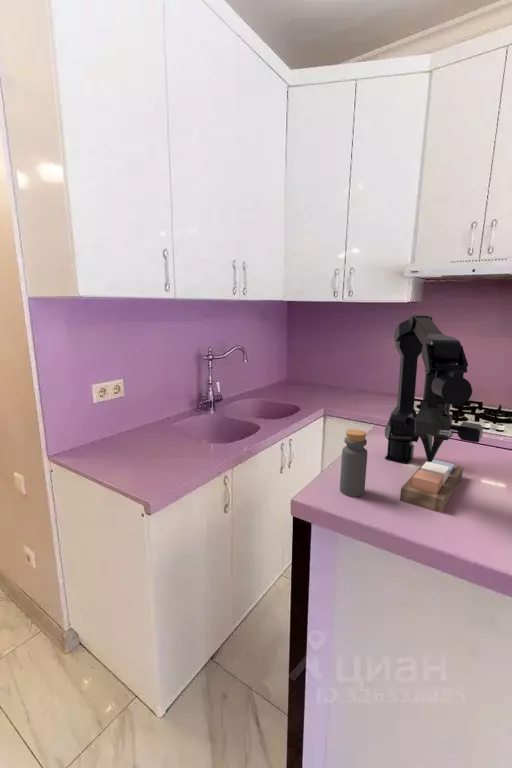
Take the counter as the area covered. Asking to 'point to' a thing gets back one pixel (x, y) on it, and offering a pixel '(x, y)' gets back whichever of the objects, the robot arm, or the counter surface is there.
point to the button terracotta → (427, 482)
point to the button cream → (437, 470)
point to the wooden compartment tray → (428, 498)
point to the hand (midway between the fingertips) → (430, 461)
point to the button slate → (445, 465)
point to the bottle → (353, 463)
